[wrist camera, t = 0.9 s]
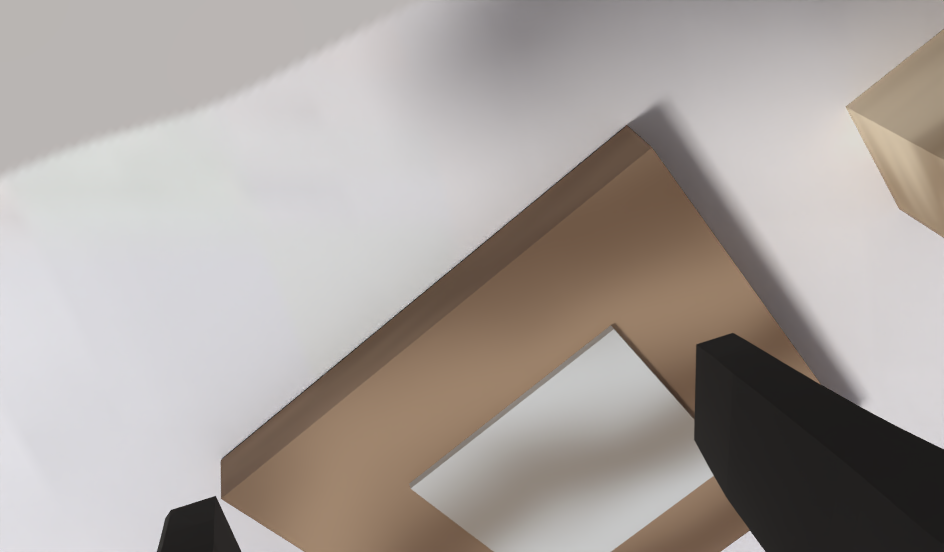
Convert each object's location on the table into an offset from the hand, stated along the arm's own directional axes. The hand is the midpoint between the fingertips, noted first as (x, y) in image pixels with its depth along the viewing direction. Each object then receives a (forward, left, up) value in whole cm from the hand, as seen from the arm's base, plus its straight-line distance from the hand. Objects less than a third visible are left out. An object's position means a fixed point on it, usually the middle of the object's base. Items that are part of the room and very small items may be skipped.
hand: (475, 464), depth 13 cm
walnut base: (-10, +1, -10) cm, 14 cm away
